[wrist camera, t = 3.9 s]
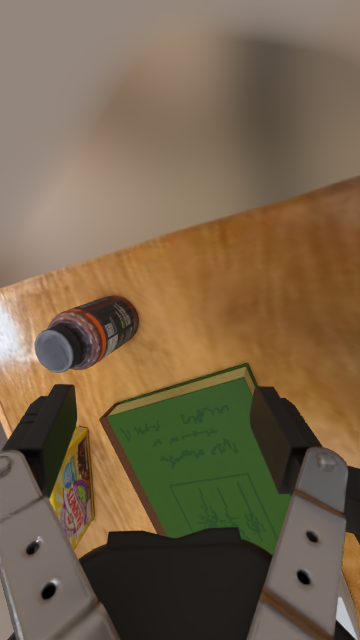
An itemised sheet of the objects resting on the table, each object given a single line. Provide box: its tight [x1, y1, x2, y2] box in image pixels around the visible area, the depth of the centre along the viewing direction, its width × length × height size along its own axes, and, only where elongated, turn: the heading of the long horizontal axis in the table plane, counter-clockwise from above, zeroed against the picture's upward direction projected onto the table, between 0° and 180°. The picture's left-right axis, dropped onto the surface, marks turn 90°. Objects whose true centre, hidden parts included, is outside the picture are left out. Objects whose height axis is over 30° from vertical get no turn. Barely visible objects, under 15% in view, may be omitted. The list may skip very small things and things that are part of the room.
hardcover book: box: [99, 363, 291, 555], centre depth 35 cm, size 25×19×4 cm
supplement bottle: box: [35, 296, 138, 373], centre depth 30 cm, size 6×6×11 cm
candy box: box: [49, 427, 94, 550], centre depth 40 cm, size 16×2×8 cm, turn 179°
